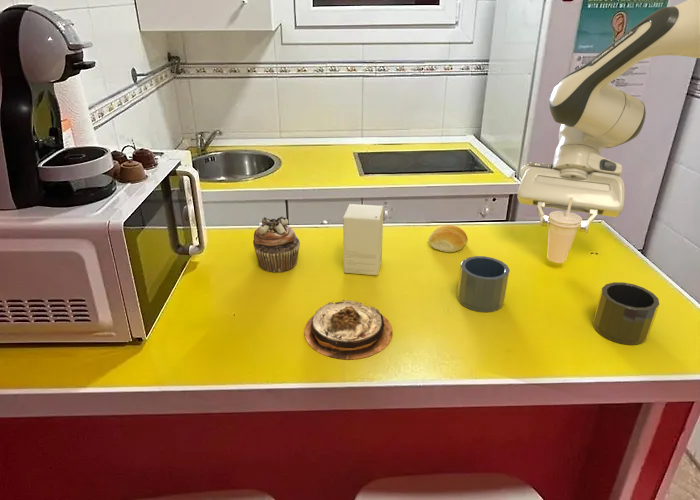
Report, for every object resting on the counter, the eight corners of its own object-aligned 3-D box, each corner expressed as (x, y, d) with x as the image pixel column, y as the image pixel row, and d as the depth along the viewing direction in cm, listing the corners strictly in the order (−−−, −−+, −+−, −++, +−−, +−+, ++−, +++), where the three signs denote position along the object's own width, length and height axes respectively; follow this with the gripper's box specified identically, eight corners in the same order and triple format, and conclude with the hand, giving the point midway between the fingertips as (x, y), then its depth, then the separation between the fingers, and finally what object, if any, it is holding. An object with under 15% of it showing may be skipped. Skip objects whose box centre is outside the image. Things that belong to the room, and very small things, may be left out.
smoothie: (550, 267, 105) (564, 203, 99) (534, 253, 111) (546, 191, 104) (579, 264, 107) (594, 201, 100) (561, 250, 112) (574, 189, 106)
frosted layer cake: (369, 370, 80) (370, 348, 78) (287, 342, 86) (286, 322, 84) (404, 320, 92) (405, 300, 90) (330, 299, 98) (330, 280, 96)
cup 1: (506, 293, 100) (512, 261, 97) (500, 316, 93) (505, 283, 90) (462, 283, 103) (466, 252, 100) (452, 306, 96) (456, 273, 93)
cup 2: (645, 322, 92) (656, 288, 89) (649, 350, 85) (661, 315, 82) (592, 311, 95) (601, 278, 92) (592, 337, 88) (602, 303, 85)
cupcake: (257, 277, 105) (253, 232, 100) (253, 255, 113) (249, 212, 108) (304, 272, 107) (302, 228, 102) (297, 250, 115) (295, 209, 110)
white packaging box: (382, 259, 112) (384, 205, 106) (378, 276, 105) (380, 219, 99) (348, 256, 113) (349, 202, 107) (342, 273, 106) (342, 216, 100)
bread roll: (470, 240, 120) (472, 224, 118) (458, 256, 113) (460, 239, 111) (436, 232, 124) (438, 217, 122) (423, 247, 117) (424, 231, 115)
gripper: (523, 154, 109) (510, 214, 106) (631, 166, 102) (621, 231, 99) (522, 168, 115) (510, 225, 111) (624, 180, 108) (614, 242, 104)
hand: (563, 228), depth 105 cm, fingers closed on smoothie, 6 cm apart
